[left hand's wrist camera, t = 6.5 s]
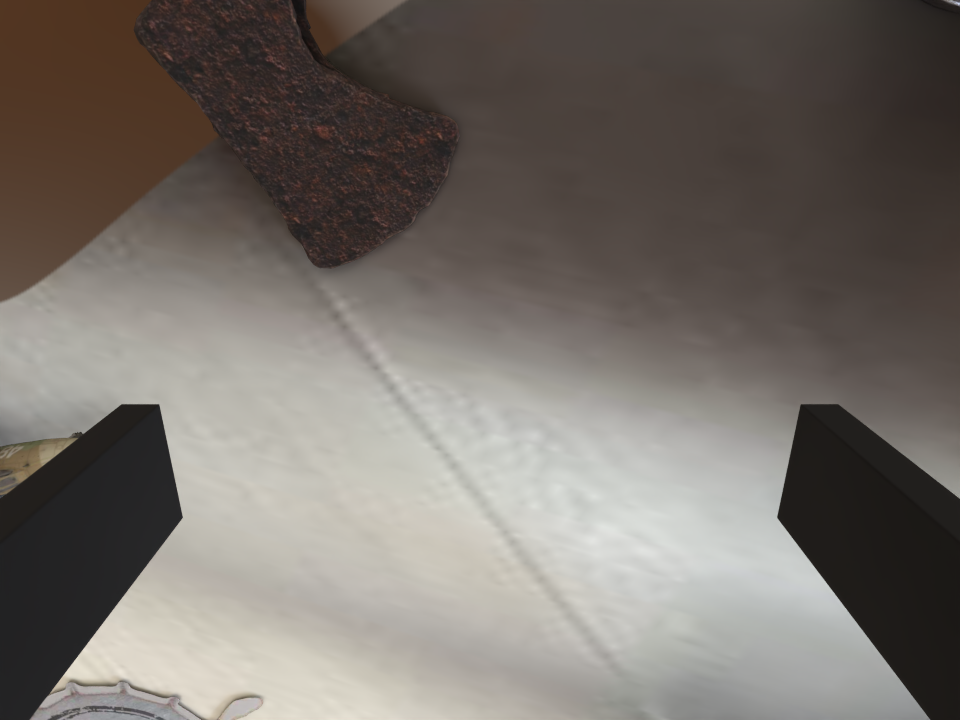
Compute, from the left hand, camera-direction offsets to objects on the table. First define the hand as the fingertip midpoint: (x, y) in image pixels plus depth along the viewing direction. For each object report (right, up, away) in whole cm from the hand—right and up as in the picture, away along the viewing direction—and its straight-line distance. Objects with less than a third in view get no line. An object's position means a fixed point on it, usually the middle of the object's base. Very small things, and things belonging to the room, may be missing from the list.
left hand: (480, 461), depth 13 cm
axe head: (-10, +19, +27) cm, 35 cm away
